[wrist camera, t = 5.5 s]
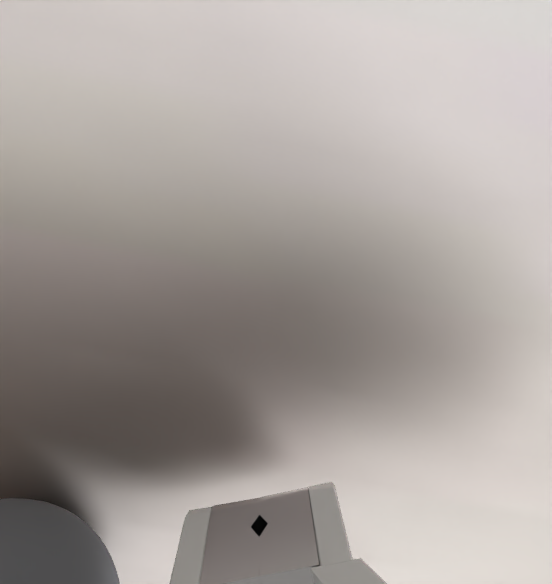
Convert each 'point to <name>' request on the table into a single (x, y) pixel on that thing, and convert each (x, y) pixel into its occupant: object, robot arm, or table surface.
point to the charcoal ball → (50, 546)
